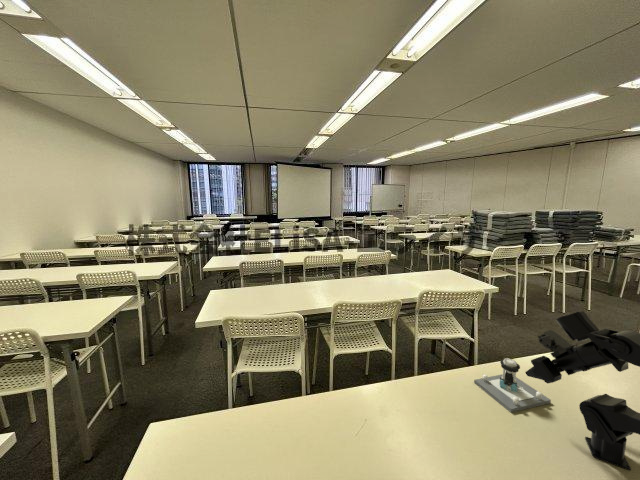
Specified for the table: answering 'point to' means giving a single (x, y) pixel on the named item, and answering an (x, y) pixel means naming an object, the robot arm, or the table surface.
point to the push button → (509, 375)
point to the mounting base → (512, 394)
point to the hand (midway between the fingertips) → (536, 370)
